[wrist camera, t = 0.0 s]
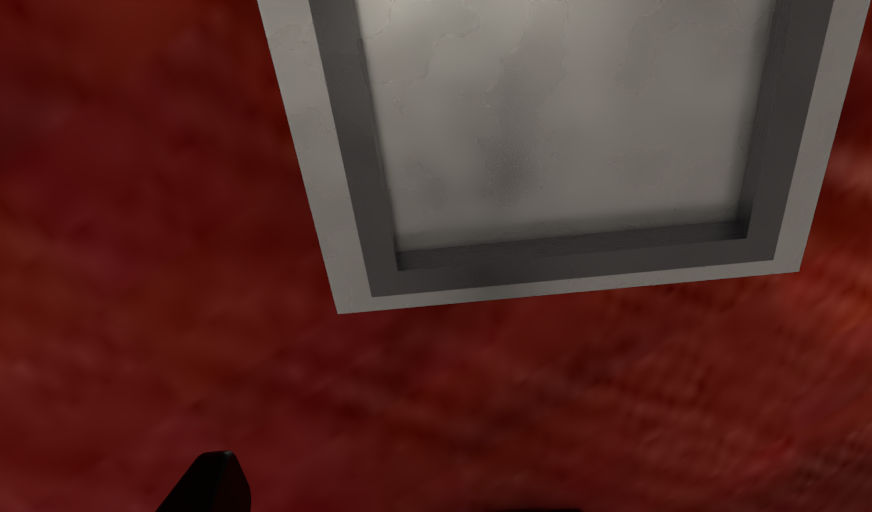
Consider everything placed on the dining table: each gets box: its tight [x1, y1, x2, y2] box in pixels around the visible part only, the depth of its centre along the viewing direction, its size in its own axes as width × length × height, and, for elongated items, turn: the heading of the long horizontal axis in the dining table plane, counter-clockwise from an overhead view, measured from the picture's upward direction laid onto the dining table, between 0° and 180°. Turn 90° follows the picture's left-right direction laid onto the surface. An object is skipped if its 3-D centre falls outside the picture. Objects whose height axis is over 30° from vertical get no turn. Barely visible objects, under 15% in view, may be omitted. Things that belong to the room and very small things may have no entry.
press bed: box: [257, 0, 871, 314], centre depth 21 cm, size 16×16×2 cm
